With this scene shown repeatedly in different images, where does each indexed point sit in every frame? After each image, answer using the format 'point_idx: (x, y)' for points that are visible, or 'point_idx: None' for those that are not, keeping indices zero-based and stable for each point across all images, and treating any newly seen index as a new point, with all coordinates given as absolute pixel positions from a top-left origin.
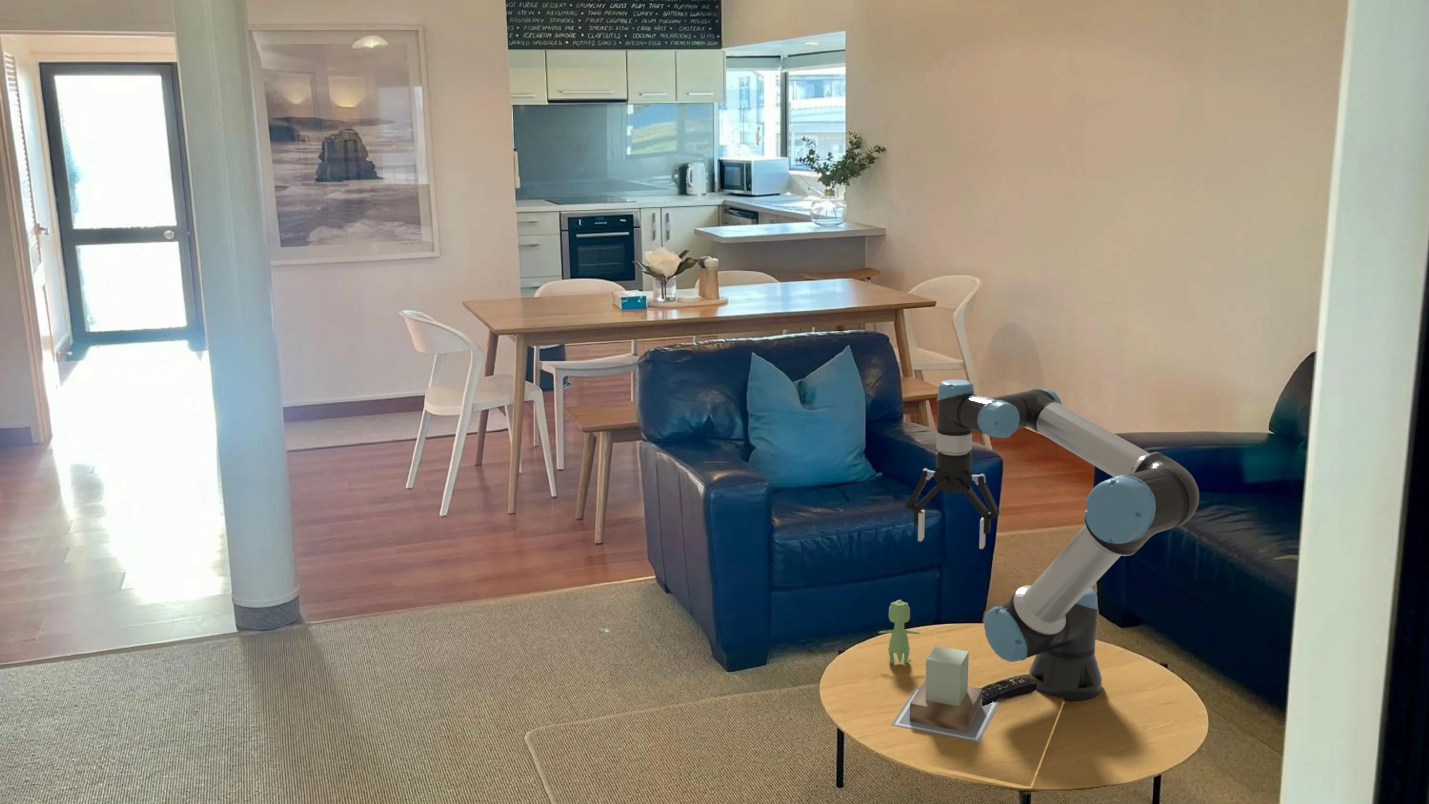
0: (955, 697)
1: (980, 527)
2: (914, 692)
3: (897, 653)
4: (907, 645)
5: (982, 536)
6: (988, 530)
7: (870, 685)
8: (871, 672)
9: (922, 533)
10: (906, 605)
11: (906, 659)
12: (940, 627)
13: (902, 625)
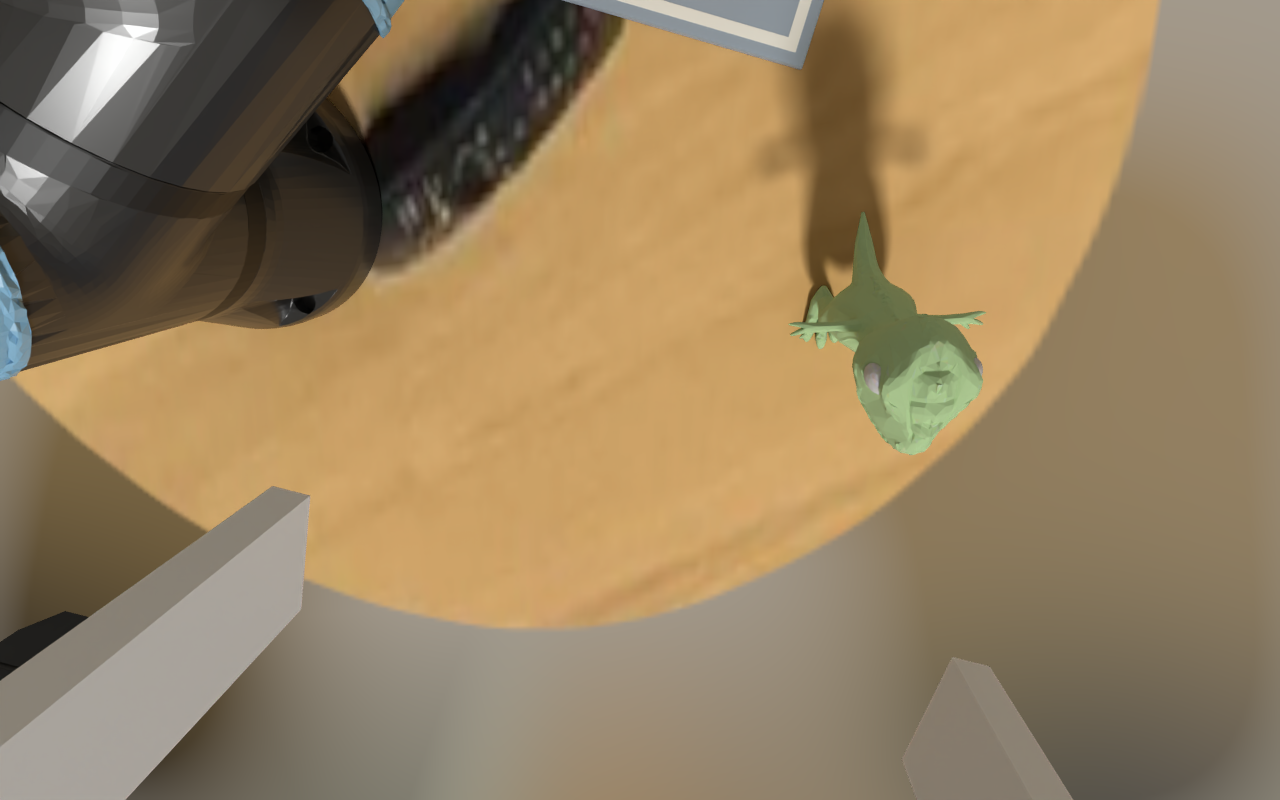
0: None
1: (74, 673)
2: (809, 17)
3: (876, 261)
4: (836, 298)
5: (164, 572)
6: (6, 645)
7: (981, 87)
8: (963, 211)
9: (964, 763)
10: (893, 367)
11: (824, 299)
12: (683, 599)
13: (884, 324)
